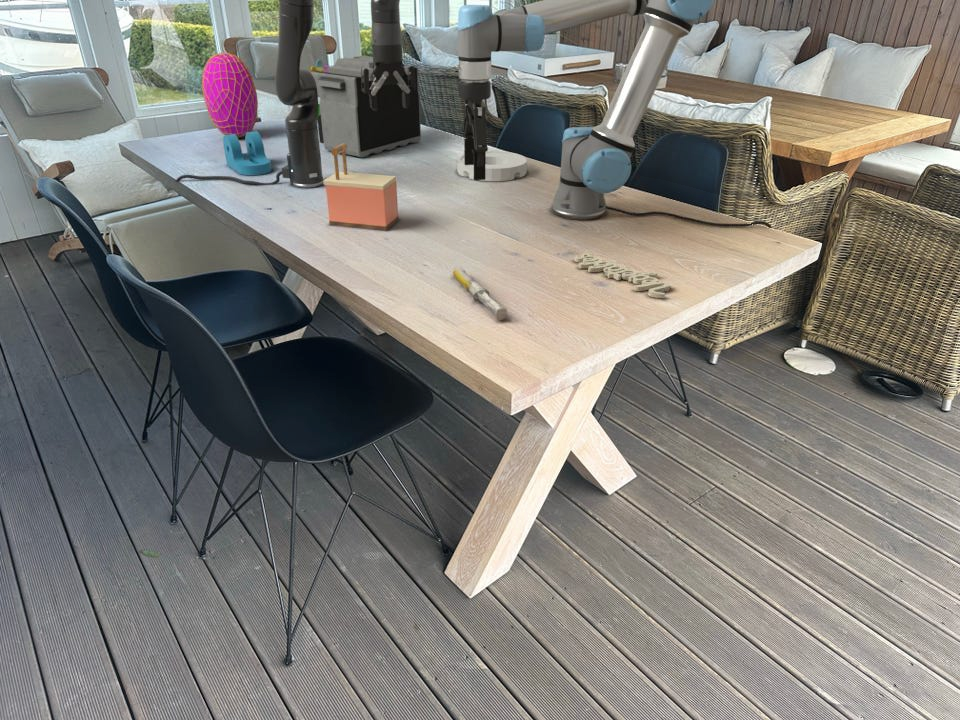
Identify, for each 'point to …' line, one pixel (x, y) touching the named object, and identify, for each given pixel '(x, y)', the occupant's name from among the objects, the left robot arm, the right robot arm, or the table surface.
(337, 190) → the chest
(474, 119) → the right robot arm
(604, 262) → the decorative sign
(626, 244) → the table surface
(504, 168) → the ashtray
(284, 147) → the table surface
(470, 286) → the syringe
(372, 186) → the lid
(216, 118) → the decorative egg
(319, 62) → the potted flower
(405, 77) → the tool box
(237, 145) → the camera mount
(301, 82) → the left robot arm
